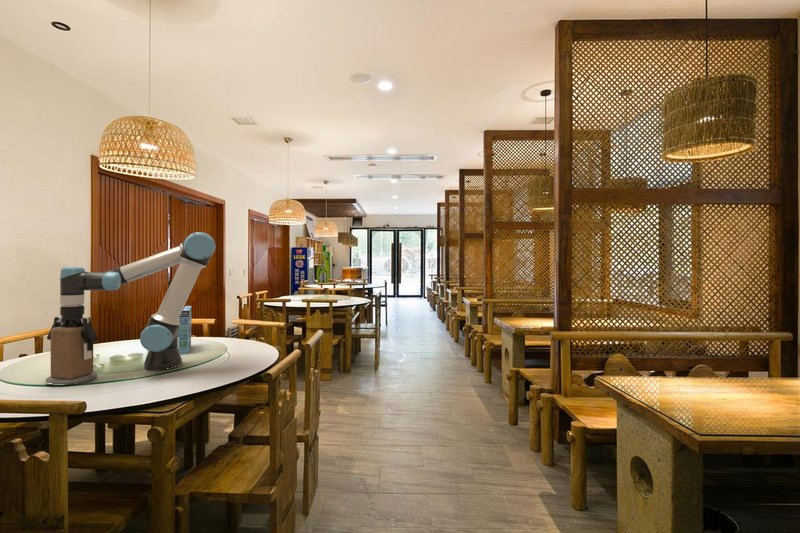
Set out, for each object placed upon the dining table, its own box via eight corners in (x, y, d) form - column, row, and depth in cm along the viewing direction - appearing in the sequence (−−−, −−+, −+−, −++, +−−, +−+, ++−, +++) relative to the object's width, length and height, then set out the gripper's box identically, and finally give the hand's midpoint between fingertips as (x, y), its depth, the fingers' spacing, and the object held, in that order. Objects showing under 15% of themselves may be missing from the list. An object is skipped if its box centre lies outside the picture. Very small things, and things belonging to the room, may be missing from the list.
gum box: (181, 346, 223) (181, 306, 223) (191, 346, 225) (192, 305, 225) (177, 354, 205) (178, 310, 205) (188, 354, 207) (189, 310, 207)
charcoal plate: (107, 376, 168) (107, 371, 168) (71, 388, 152) (71, 383, 152) (72, 374, 169) (72, 369, 169) (34, 386, 153) (34, 380, 153)
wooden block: (70, 380, 155) (70, 329, 154) (49, 378, 156) (49, 327, 156) (94, 373, 164) (94, 325, 164) (74, 371, 166) (74, 323, 166)
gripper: (108, 305, 162) (108, 357, 163) (53, 303, 165) (53, 354, 165) (92, 307, 155) (92, 361, 155) (35, 305, 157) (35, 358, 158)
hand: (72, 358), depth 160 cm, fingers open, 13 cm apart
